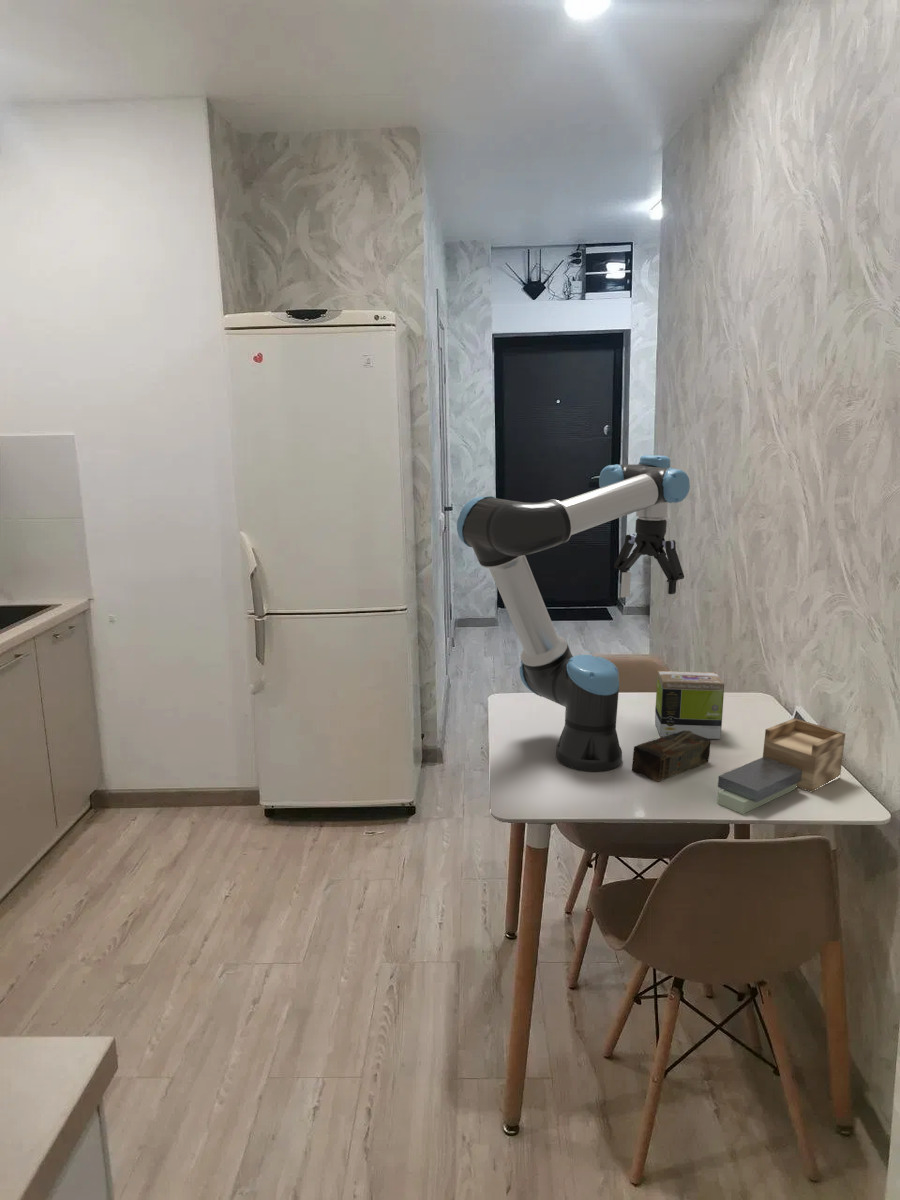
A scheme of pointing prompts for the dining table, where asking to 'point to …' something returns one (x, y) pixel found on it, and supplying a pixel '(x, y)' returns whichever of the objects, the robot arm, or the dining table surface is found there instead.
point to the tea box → (689, 703)
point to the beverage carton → (670, 755)
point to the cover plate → (759, 779)
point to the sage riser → (746, 800)
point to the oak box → (806, 750)
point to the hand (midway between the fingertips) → (645, 601)
